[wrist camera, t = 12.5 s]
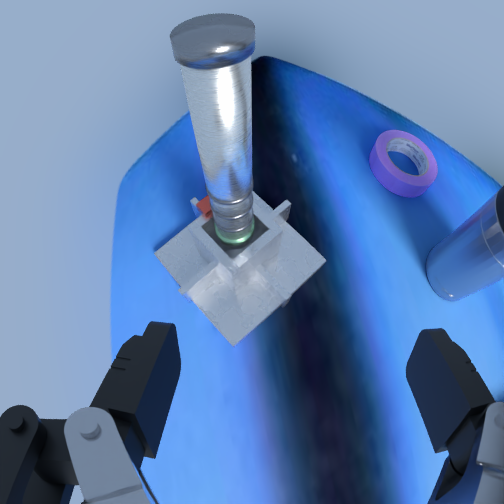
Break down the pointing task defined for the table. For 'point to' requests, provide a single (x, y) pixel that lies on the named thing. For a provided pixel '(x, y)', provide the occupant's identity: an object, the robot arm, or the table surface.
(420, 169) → the masking tape
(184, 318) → the table surface
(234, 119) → the cylinder
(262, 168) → the table surface
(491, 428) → the robot arm
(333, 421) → the table surface
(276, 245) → the jack base
